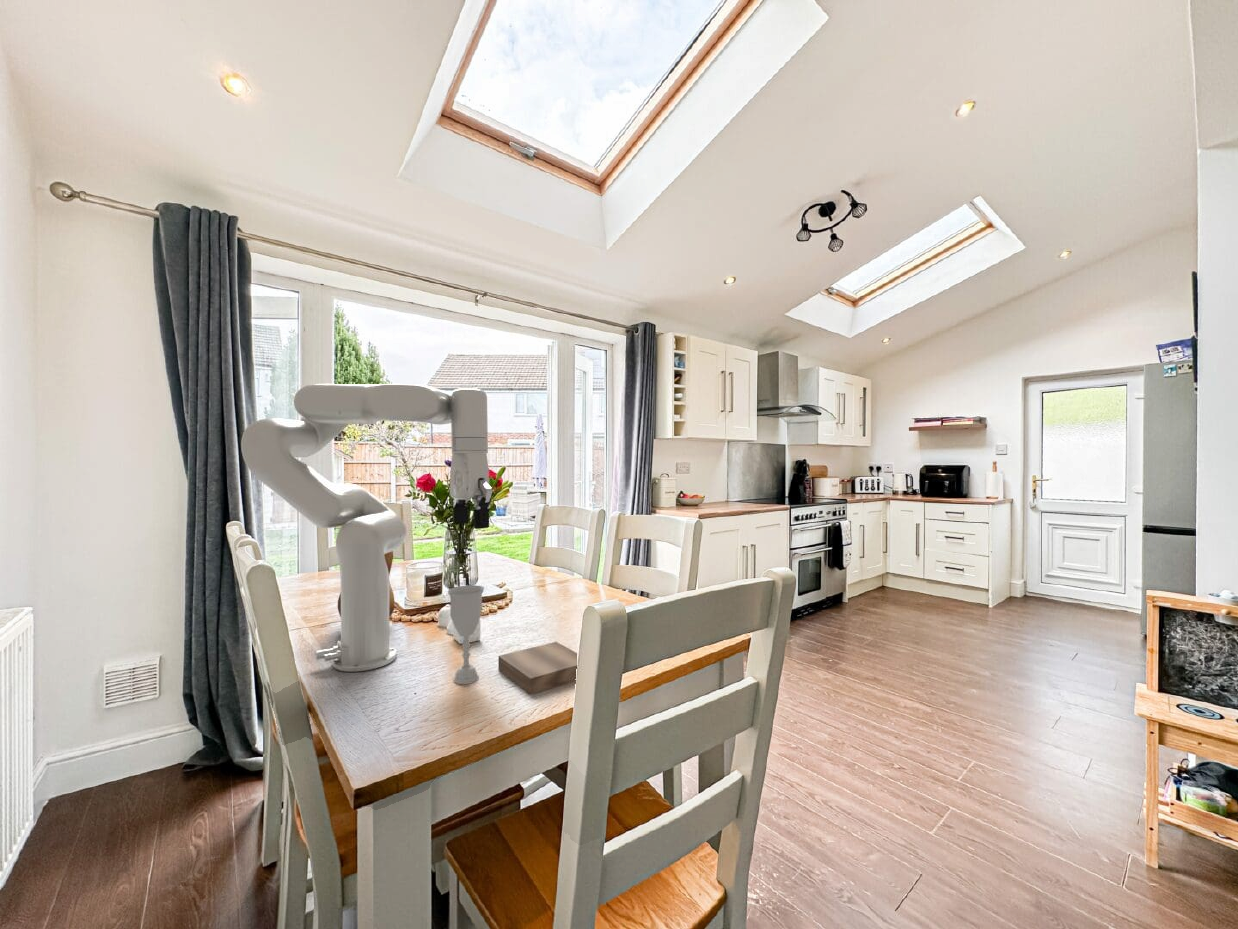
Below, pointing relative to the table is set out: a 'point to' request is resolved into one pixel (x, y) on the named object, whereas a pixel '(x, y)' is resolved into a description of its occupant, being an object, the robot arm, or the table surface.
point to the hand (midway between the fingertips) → (471, 526)
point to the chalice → (466, 625)
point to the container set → (446, 621)
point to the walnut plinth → (540, 667)
